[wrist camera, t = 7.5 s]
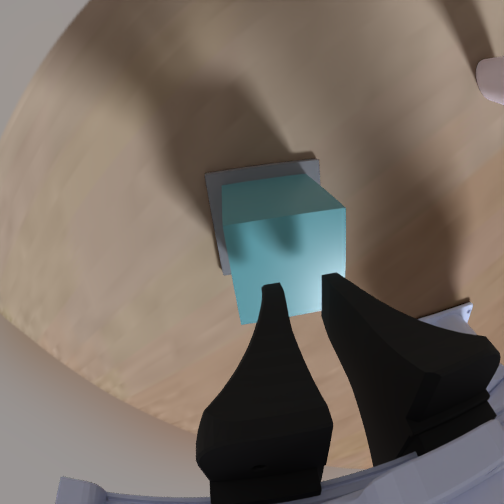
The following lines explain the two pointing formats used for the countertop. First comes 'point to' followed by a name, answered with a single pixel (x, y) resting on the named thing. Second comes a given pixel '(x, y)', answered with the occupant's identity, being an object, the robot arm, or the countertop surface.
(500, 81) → the smoothie
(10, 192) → the countertop surface
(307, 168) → the grey square base plate
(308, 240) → the teal foam brick
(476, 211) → the countertop surface
